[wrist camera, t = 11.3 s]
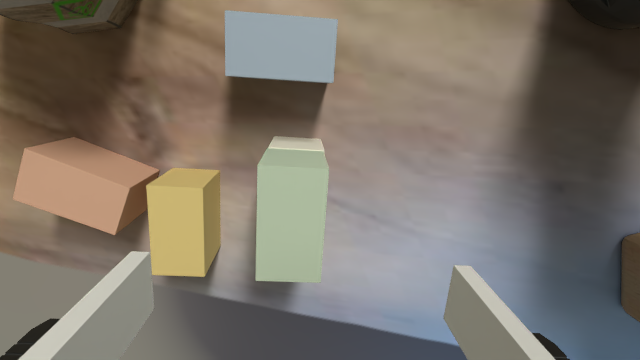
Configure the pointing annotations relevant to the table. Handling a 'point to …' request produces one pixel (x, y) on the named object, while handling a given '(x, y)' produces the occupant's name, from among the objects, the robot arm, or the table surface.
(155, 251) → the ochre brick
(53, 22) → the mug
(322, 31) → the slate brick
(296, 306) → the table surface
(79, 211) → the terracotta brick
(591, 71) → the table surface
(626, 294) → the wooden block
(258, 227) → the sage brick
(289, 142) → the cream brick
